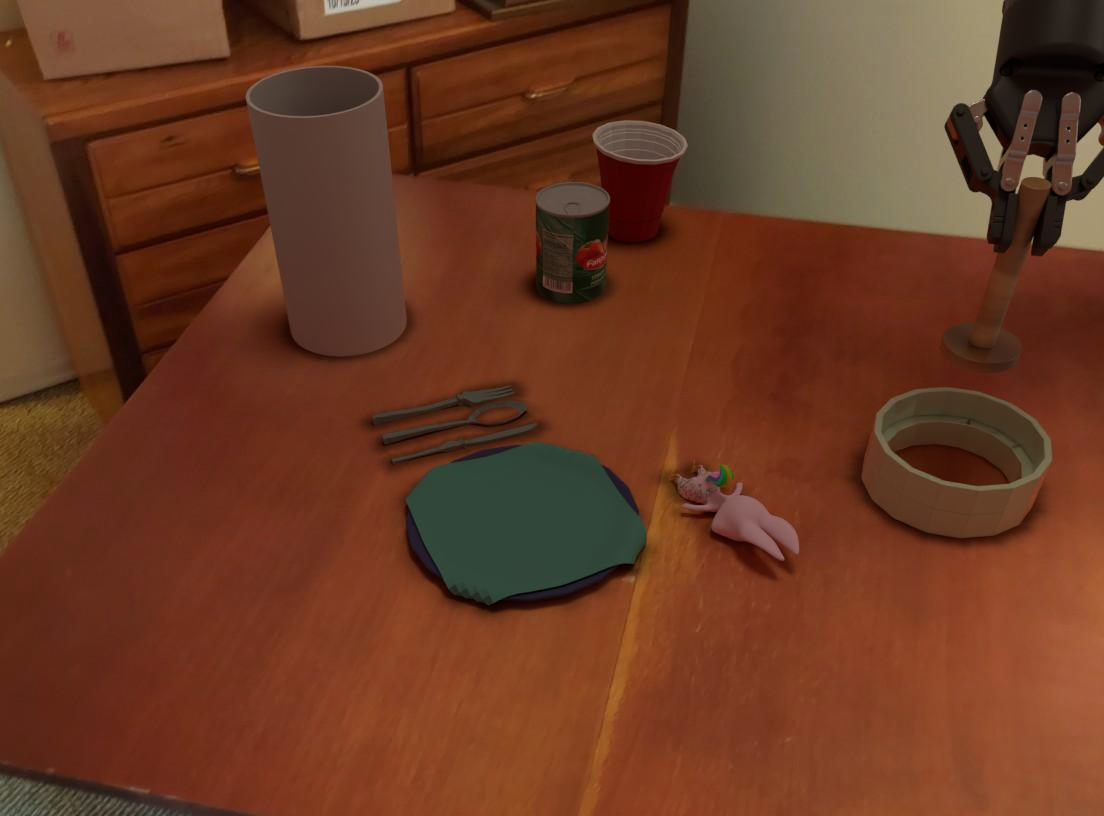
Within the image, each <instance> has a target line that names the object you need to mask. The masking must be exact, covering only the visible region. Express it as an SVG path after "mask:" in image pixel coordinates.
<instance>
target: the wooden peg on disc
mask: <svg viewBox="0 0 1104 816" xmlns="http://www.w3.org/2000/svg"><path fill="white" fill-rule="evenodd" d="M1018 187H1019V188H1018V191H1017V193H1016V194H1019V199H1018V205H1017V211H1016V217H1015V224H1014V230H1013V236H1012V241H1011V245H1010V247H1009V248H1008V249H1007V250H1006V252H1005V253H997V254H996V257H995V260H994V263H993V266H992V269H991V271H990V274H989V277H988V281H987V284H986V287H985V290H984V293H983V296H982V300H981V303H980V305H979V308H978V312H977V314H976V317H975V319H974V322H973V321H972V322H971V321H970V322H969V321H968V322H961V323H957V324H953V325H951V326H949V327H948V328H947V329H946V330H945V331H944V332H943V334H942V336H941V340H940V344H939V352H940V353H941V355H942V357H943V358H944V360H946V361H947V362H949V363H950V364H951V365H953V366H955V367H957V368H959V369H961V370H965V371H968V372H972V373H977V374H988V375H989V374H999V373H1000V374H1001V373H1003V372H1007V371H1009V370H1012V369H1013V368H1014V367H1015V366H1016V365H1017V363H1018V361H1019V359H1020V356H1021V354H1022V351H1023V347H1022V342H1021V341H1020V339H1019V338H1018V337H1017V336H1015V335H1014V334H1013V333H1012V332H1010V331H1009V330H1007V329H1004V328H1003V325H1004V321H1005V318H1006V316H1007V312H1008V310H1009V307H1010V304H1011V301H1012V299H1013V296H1014V292H1015V290H1016V287H1017V285H1018V281H1019V278H1020V276H1021V273H1022V270H1023V267H1024V266H1025V265H1024V264H1025V262H1026V259H1027V255H1028V253H1029V250H1030V247H1031V246H1032V243H1033V236H1034V233H1035V230H1036V228H1037V225H1038V222H1039V219H1040V216H1041V213H1042V211H1043V208H1044V205H1045V202H1046V199H1047V196H1048V194H1049V191H1050V188H1051V183H1050V182H1049V181H1048V180H1046V179H1044V177H1038V176H1026V177H1024V178H1023V179H1021V181H1020V183H1019V186H1018Z"/></svg>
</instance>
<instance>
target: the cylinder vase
mask: <svg viewBox="0 0 1104 816" xmlns="http://www.w3.org/2000/svg"><path fill="white" fill-rule="evenodd" d="M245 101H246V106H247V111H248V116H249V122H250V127H251V132H252V137H253V143H254V148H255V153H256V158H257V163H258V167H259V168H258V169H259V174H260V180H261V185H262V189H263V194H264V200H265V206H266V210H267V216H268V220H269V226H270V230H271V231H270V232H271V235H272V241H273V246H274V247H273V248H274V252H275V257H276V261H277V267H278V273H279V278H280V283H281V287H282V292H283V293H282V294H283V299H284V303H285V308H286V309H285V310H286V313H287V319H288V325H289V329H290V334H291V337H292V339H293V340H294V342H295V343H296V344H297V345H298V346H299V347H301V348H302V349H304V350H306V351H309V352H311V353H314V354H318V355H322V356H328V357H353V356H354V357H355V356H361V355H366V354H369V353H372V352H375V351H379V350H381V349H383V348H385V347H387V346H389V345H391V344H392V343H394V342H395V341H396V340H397V339H399V338H400V337H401V336H402V334H403V333H404V331H405V329H406V327H407V322H408V317H407V308H406V298H405V287H404V280H403V279H404V278H403V269H402V259H401V248H400V241H399V239H400V238H399V229H398V221H397V209H396V203H395V202H396V200H395V191H394V181H393V180H394V179H393V172H392V170H393V169H392V162H391V155H390V154H391V151H390V142H389V134H388V133H389V132H388V123H387V114H386V113H387V112H386V103H385V93H384V85H383V82H382V80H381V79H380V78H379V77H378V76H377V75H375V74H373V73H372V72H369V71H367V70H363V69H361V68H360V69H359V68H355V67H350V66H343V65H341V66H340V65H314V66H304V67H297V68H292V69H288V70H287V69H286V70H283V71H280V72H276V73H273V74H271V75H267V76H266V77H263V78H261V79H260V80H258V81H257V82H255V83H253V84H252V85H251V86H250V87H249V88H248V89H247V91H246V94H245Z"/></svg>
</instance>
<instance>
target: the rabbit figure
mask: <svg viewBox="0 0 1104 816" xmlns="http://www.w3.org/2000/svg"><path fill="white" fill-rule="evenodd" d="M692 463H693V465H692V466H691V471H690V472H691V473H696V472H697V474H696V476H693V477H691V478H686V477H683V476H681V474H679V472H678V473H673V470H672V468H669V469H670V474H669V478H668V482H673V481H675V480H676V487H677V492H678V494H679V496H681V498H683V499H685V500H687V501H691V502H694V503H698V504H691V503H687V502H686V503H683V504H682V505H681V508H682V510H687V511H693V512H694V511H696V512H711V513H716V514H715V515H714V517H713V519H712V522H711V525H710V527H711V528H710V529H711V531H712V532H713V533H716V534H718V535H720V536H722V537H725V538H728V539H730V540H732V541H734V542H735V541H736V542H747V543H750V544H752V545H754V546H756V547H758V548H760V549H761V550H763V551H765V552H766V553H767V554H769V555H770V556H772V557H773V558H775V559H776V560H779V561H783V562H784V561H785V557H784V556H783V553H782V552H781V550H780V548H779V546H778V544H777V543H776V542H778V543H779V544H781V545H782V546H783V547H785V548H786V549H787V550H789V551H790V552H791V553H792V554H794V555H796V556H798V555H799V553H800V541H799V536H798V534H797V531H796V530H795V528H794V527H793V526H792V525H791V524H790V522H788V521H787V520H785V519H783V518H782V517H780V516H777V515H772V514H771V513H770V512H769V511H768V509H767V508H766V507H765V505H763V503H761V501H759V500H757V499H756V498H754V497H752V496H749V495H741V493H742V491H743V486H744V484H743V482H742V481H738V482H736V484H735V490H734V492H731V494H724V493H723V492H721V488H726V487H729V486H730V485H732V483H733V481H734V479H735V477H734V473H733V471H732V470H731V468H730V467H729V466H728V465H726V464H724V463H718V466H719V471H707V470H706V469H705V468H704V466H703V464H698V465H696V462H695V460H694V459H693V460H692ZM775 540H776V542H775Z"/></svg>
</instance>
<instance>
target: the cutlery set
mask: <svg viewBox="0 0 1104 816" xmlns="http://www.w3.org/2000/svg"><path fill="white" fill-rule="evenodd" d="M514 395H516V391H514V389H513V388H512V386H511V384H509V385H505V386H502V387H497V388H487V389H479V390H473V391H466V390H463V392H462V394H460V393H455V397H453V398H449V399H445V400H442V401H439V402H438V401H437V402H435V403H433V404H428V405H423V406H418V407H412V408H407V409H406V408H405V409H399V410H398V409H397V410H392V411H391V410H390V411H388V412H387V411H386V412H383V413H375V414H373V415H371V420H372V424H373V426H377V425H382V424H386V423H387V424H388V423H392V422H395V421H400V420H403V419H404V420H405V419H408V418H412V417H416V416H421V415H425V414H429V413H433V412H438V411H442V410H444V409H447V408H451V407H454V406H458V407H461V406H463V405H466V406H468V407H470V408H471V407H475V406H479V405H483V404H485V405H483V406H481V407H478V408H476V409H475V410H474V411H473V412H472V413H471V414H470V415H469V416H468V418H467V419H464V420H463V419H462V420H454V421H449V422H448V421H447V422H444V423H436V424H427V425H423V426H419V427H413V428H407V429H404V430H398V431H393V432H389V433H388V432H387V433H383V434H381V440H382V442H383V445H385V446H386V445H390V444H393V443H396V442H400V441H403V440H407V439H410V438H413V437H414V438H415V437H419V436H421V435H425V434H429V433H434V432H437V431H443V430H447V429H452V428H457V427H461V426H467V425H482V426H487V427H491V426H501V425H505V424H507V423H509V422H512V421H514V420H516V419H518V418H519V417H520V416H521V415H522V414H524V413H525V412H526V411H527V410H528V409H529V407H528V406H527V405H526V403H525V402H523V401H515V400H503V401H496V400H501V399H504V398H508V397H512V396H514ZM494 401H496V402H494ZM489 402H491V403H489ZM486 403H488V404H486ZM503 407H506V408H513V409H516V411H518V415H516V416H514V417H512V418H509V419H507V420H504V421H495V422H490V423H489V422H488V423H487V422H481V421H477V419H476V418H477V417H478V416H479V415H480V414H481V413H483V412H485V411H487V410H490V409H495V408H503ZM537 428H538V422H534V423H531V424H530V423H529V424H526V425H523V426H522V425H521V426H519V427H513V428H511V429H505V430H502V431H497V432H494V433H490V434H486V435H481V436H478V437H474V438H469V439H466V440H464V438H463V437H462V436H460V437H459V439H458V440H456V441H455V440H448V441H447V440H446V441H445V442H444V443H442V444H440V445H439V446H437V447H433V448H428V449H425V450H423V451H419V452H416V453H413V454H408V455H403V456H399V457H390V461H391V463H392V465H393V466H395V465H397V464H400V463H403V462H407V461H409V460H413V459H416V458H420V457H423V456H429V455H433V454H436V453H453V452H455V451H457V450H461V449H463V450H466V448H467V447H473V446H479V445H486V444H491V443H494V442H495V443H496V442H500V441H505V440H509V439H511V438H515V437H519V436H524V435H527V434H529V433H532V432H533V431H534V430H536V429H537ZM631 491H632V490H631V489H630V487H629V486H628V485H627V484H626V483H625V482H624V481H623V480H622V479H621V478H620V477H619V476H618V475H617V474H616V473H615V472H614V471H613V470H612V469H610V468H609V467H608V466H606V465H604V464H602V463H601V462H600V460H599V459H598V458H597V456H596V455H594V454H592V453H591V454H590V453H585V452H584V451H580V450H579V451H578V450H577V451H576V450H574V449H573V448H565V447H564V446H560V445H554V444H553V443H545V442H543V441H531V442H528V443H525V444H513V445H512V444H511V445H505V446H498V447H492V448H484V449H481V450H479V451H476V452H473V453H470V454H467V455H465V456H462V457H459V458H457V459H454V460H451V461H450V462H449V463H444V464H438V465H436V466H433V467H432V468H431V469H429V470H428V471H426V472H425V473H424V475H423V476H422V477H421V478H420V479H419V481H418V482H417V483H416V484H415V486H414V487H413V488H412V490H411V491H410V492H409V494H408V495H407V496H406V497H405V498H404V501H405V503H406V504H407V506H408V512H407V515H406V519H405V525H406V529H407V534H408V535H407V536H408V540H409V545H410V548H411V550H412V551H413V553H415V555H416V556H417V558H418V559H419V561H420V562H421V563H422V564H423V566H424V567H425V569H426V570H427V571H428V572H429V573H431V574H433V575H434V576H435V577H437V578H439V579H440V580H442V581H443V582H444V585H446V587H447V589H448V590H449V592H450V593H452V594H453V596H458V597H463V598H465V599H469V600H474V601H475V602H476V603H482V604H485V605H487V606H490V605H492V604H494V603H496V602H499V601H512V602H530V603H531V602H536V601H542V600H549V599H554V598H560V597H566V596H569V595H572V594H574V593H576V592H579V591H582V590H583V589H586V588H588V587H591V586H592V585H595V584H598V583H599V582H601V581H603V580H604V579H605V578H606V577H607V576H609V575H610V574H611V573H612V572H614V570H616V569H617V568H618V567H619V566H621V565H622V564H631V565H635V563H636V560H637V557H638V556H639V554H640V552H642V550H643V548H644V546H645V545H646V543H647V529H646V526H645V524H644V521H643V520H642V518H641V517H640V509H639V506H638V504H637V502H636V500H635V498H634V495H633V494H632V492H631Z"/></svg>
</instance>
